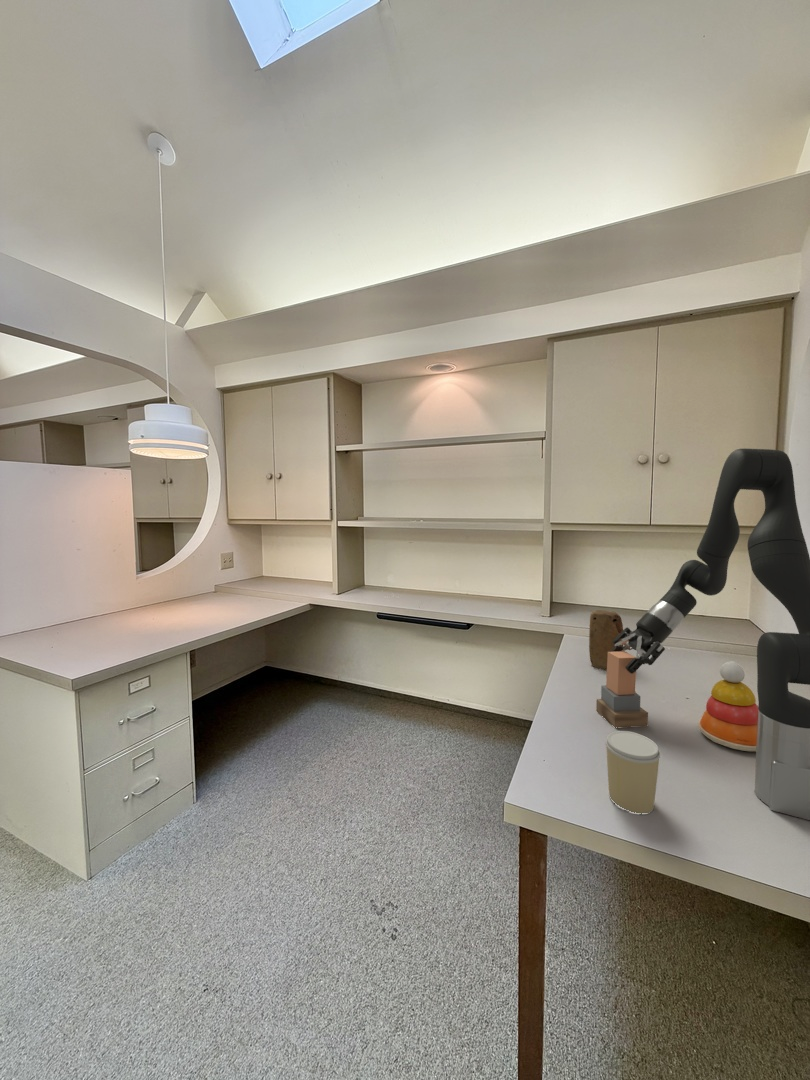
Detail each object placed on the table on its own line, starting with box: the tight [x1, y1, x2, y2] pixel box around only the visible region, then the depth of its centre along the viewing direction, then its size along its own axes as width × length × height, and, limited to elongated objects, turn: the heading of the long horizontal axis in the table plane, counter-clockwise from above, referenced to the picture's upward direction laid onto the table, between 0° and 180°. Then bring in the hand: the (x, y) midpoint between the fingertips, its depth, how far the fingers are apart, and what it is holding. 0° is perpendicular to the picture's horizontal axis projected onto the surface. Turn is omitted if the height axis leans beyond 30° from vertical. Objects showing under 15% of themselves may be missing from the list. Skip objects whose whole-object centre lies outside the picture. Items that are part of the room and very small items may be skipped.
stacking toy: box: [697, 660, 758, 752], centre depth 101 cm, size 14×14×20 cm
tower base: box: [595, 698, 649, 729], centre depth 113 cm, size 9×9×4 cm
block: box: [588, 609, 624, 671], centre depth 148 cm, size 11×8×20 cm
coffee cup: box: [605, 730, 661, 814], centre depth 81 cm, size 9×9×12 cm
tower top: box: [600, 684, 641, 711], centre depth 113 cm, size 7×7×4 cm
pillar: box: [605, 650, 637, 695], centre depth 112 cm, size 5×5×10 cm
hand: (618, 665), depth 112 cm, fingers open, 8 cm apart
